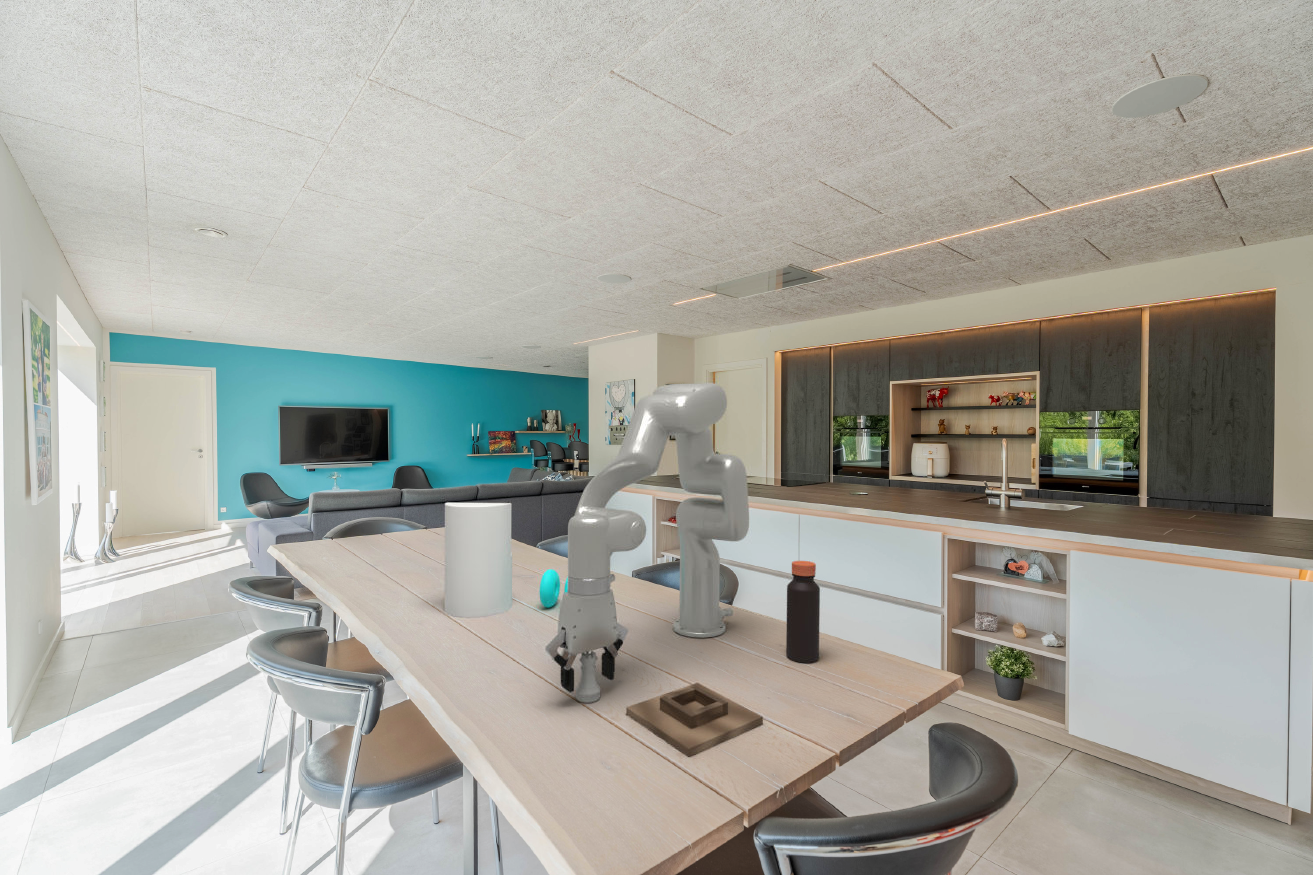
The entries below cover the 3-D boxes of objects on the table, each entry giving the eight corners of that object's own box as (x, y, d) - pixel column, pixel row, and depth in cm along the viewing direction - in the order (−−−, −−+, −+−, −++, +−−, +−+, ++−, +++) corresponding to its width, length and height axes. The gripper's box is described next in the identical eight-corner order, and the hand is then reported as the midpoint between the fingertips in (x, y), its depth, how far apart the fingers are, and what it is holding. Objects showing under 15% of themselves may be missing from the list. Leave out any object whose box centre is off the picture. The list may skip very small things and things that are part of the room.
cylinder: (501, 618, 148) (502, 507, 147) (433, 617, 148) (434, 506, 147) (518, 598, 165) (519, 499, 164) (457, 597, 165) (458, 498, 165)
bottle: (821, 654, 125) (822, 561, 125) (816, 665, 119) (817, 568, 119) (789, 649, 128) (790, 558, 128) (782, 660, 122) (784, 564, 122)
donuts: (550, 600, 163) (550, 565, 163) (584, 602, 161) (585, 566, 161) (537, 611, 153) (538, 573, 153) (574, 613, 151) (575, 575, 151)
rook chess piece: (576, 692, 106) (576, 648, 106) (600, 691, 106) (601, 648, 106) (574, 704, 102) (575, 658, 102) (600, 703, 102) (601, 657, 102)
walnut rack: (697, 688, 108) (697, 671, 108) (762, 723, 95) (763, 704, 95) (626, 714, 98) (626, 695, 98) (688, 756, 86) (688, 735, 86)
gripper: (617, 573, 112) (617, 664, 112) (534, 587, 101) (533, 688, 102) (640, 581, 106) (640, 678, 106) (555, 597, 96) (554, 704, 96)
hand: (588, 682), depth 104 cm, fingers open, 7 cm apart
